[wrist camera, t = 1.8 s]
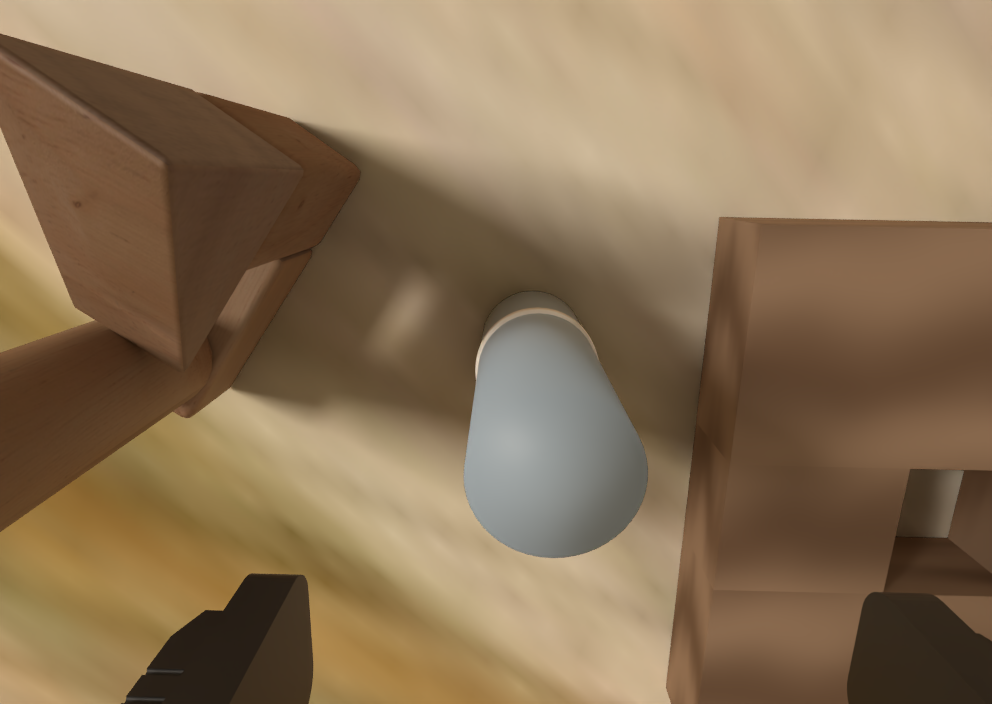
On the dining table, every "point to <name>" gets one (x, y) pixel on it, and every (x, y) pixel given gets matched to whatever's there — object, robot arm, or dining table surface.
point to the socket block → (830, 448)
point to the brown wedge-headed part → (146, 253)
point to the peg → (549, 435)
